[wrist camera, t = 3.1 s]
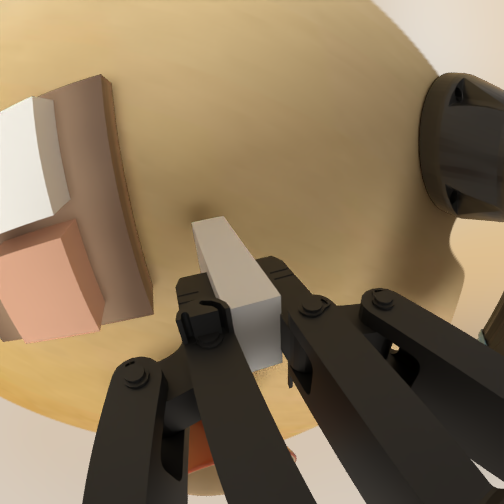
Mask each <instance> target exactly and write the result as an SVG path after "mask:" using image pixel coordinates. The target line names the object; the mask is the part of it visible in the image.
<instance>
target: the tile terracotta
mask: <svg viewBox="0 0 504 504" xmlns="http://www.w3.org/2000/svg"><path fill="white" fill-rule="evenodd" d="M0 300H1V302H2V304H3V306H4V308H5V309H6V311H7V313H8V315H9V317H10V318H11V320H12V322H13V324H14V325H15V327H16V329H17V330H18V332H19V334H20V335H21V337H22V338H23V340H24V342H25V343H26V344H27V343H34V342H40V341H47V340H53V339H59V338H65V337H71V336H76V335H82V334H88V333H93V332H98V331H100V328H101V322H102V317H103V311H104V306H105V300H104V298H103V295H102V293H101V290H100V288H99V286H98V283H97V280H96V278H95V275H94V273H93V270H92V267H91V264H90V262H89V259H88V256H87V253H86V250H85V247H84V244H83V241H82V238H81V235H80V232H79V228H78V225H77V222H76V218H75V219H72V220H68V221H65V222H62V223H58V224H55V225H52V226H48V227H45V228H42V229H39V230H36V231H33V232H30V233H27V234H24V235H21V236H18V237H15V238H12V239H9V240H7V241H4V242H3V243H2V244H1V245H0Z"/></svg>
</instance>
